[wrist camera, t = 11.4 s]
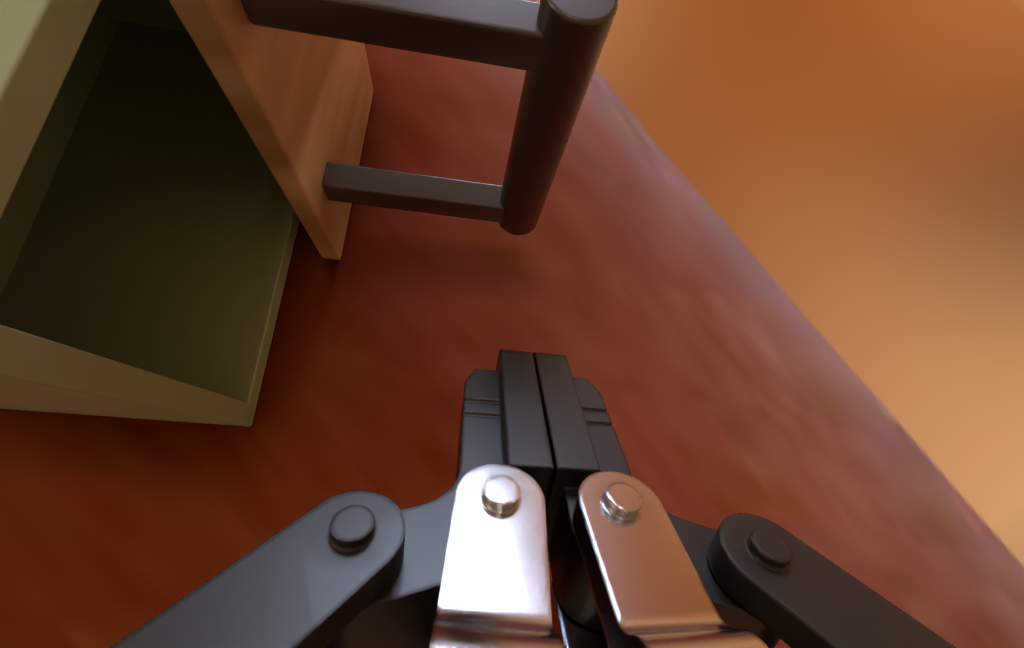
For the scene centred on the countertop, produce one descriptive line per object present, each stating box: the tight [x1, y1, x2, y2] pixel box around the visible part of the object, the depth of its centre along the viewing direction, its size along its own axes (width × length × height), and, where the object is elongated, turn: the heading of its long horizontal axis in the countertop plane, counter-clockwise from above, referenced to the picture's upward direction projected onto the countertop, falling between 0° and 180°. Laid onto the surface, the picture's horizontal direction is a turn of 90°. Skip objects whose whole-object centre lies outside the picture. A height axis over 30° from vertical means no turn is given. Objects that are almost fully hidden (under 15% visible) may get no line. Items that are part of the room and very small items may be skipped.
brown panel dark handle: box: [169, 0, 618, 260], centre depth 15 cm, size 9×9×12 cm
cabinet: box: [0, 0, 300, 427], centre depth 14 cm, size 11×18×12 cm, turn 177°
